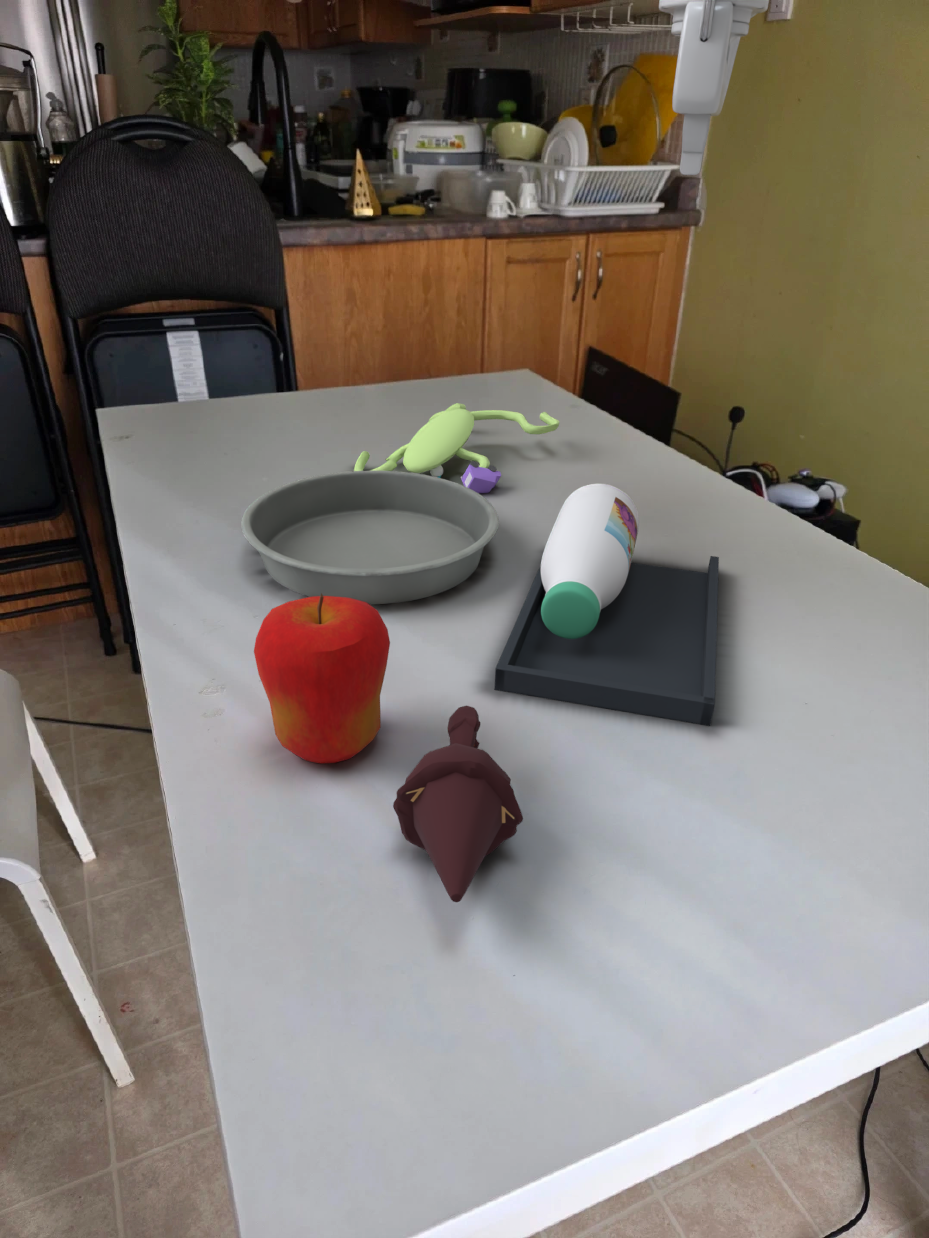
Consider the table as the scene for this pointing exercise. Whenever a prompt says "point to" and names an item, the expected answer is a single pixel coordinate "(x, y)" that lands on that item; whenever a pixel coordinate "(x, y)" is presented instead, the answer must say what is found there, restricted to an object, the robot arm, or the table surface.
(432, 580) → the cake pan
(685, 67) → the robot arm
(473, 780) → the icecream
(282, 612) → the apple
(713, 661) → the tray
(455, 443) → the figurine
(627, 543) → the milk bottle
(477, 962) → the table surface
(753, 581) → the table surface
